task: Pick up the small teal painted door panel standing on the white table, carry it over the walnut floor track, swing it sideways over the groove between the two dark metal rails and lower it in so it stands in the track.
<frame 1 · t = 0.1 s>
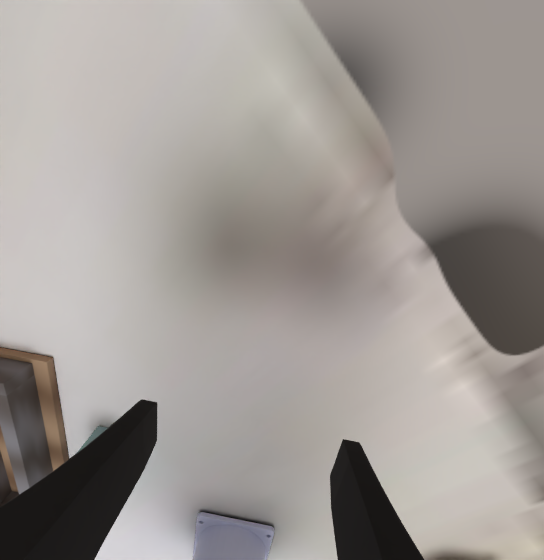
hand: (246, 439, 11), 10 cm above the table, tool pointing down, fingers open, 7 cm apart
floor track: (21, 433, 27), on the table
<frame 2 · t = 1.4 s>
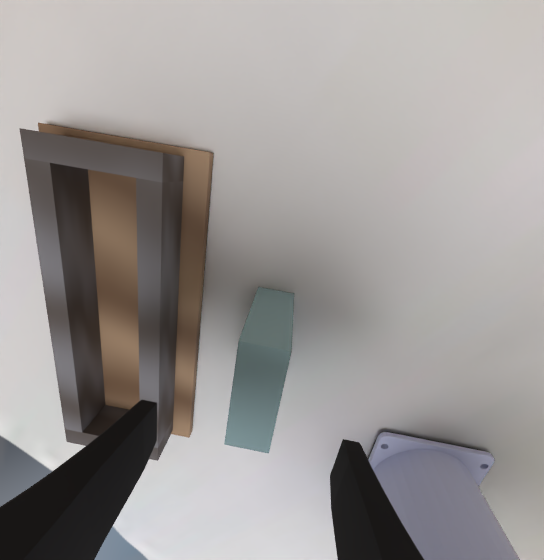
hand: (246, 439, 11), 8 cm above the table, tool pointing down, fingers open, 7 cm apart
floor track: (133, 306, 18), on the table
door panel: (268, 331, 18), on the table
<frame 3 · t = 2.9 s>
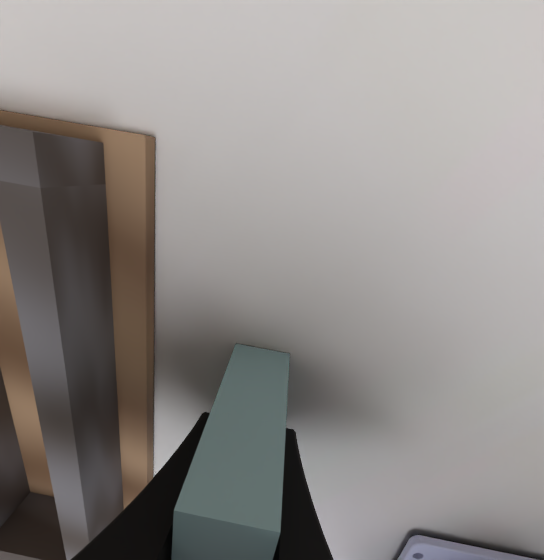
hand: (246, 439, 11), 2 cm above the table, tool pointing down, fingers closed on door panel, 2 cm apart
floor track: (56, 366, 13), on the table
door panel: (252, 404, 12), on the table, touching gripper
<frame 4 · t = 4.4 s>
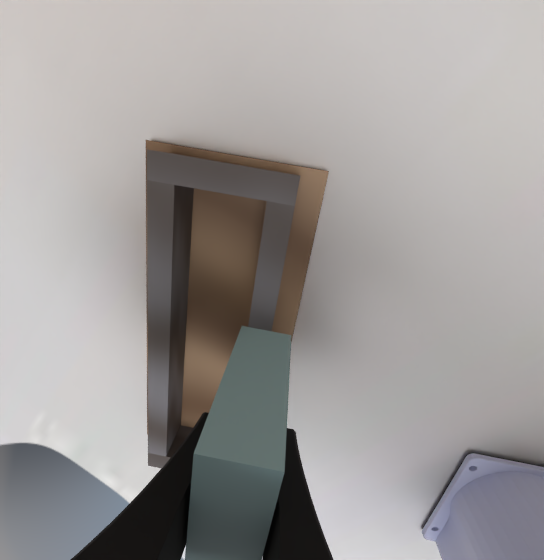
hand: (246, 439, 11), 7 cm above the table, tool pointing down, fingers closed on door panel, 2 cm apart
floor track: (220, 326, 18), on the table
door panel: (256, 384, 13), point 5 cm above the table, touching gripper
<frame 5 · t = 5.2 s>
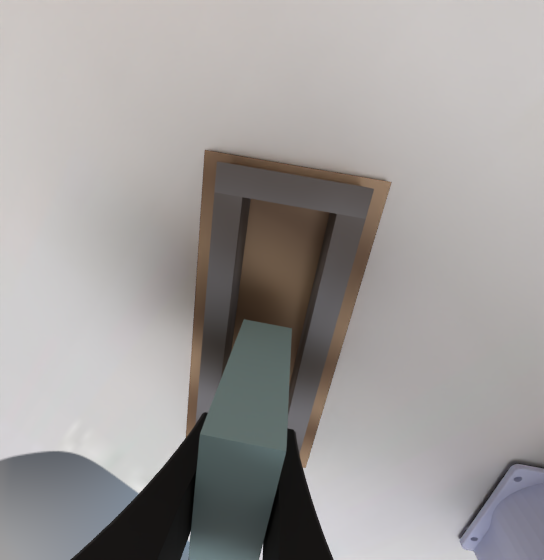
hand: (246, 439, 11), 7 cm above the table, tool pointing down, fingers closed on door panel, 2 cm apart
floor track: (266, 336, 17), on the table
door panel: (258, 376, 14), point 4 cm above the table, touching gripper
when the fingers open (5 cm above the table, at t = 5.9 s): door panel stays where it is, resting on floor track.
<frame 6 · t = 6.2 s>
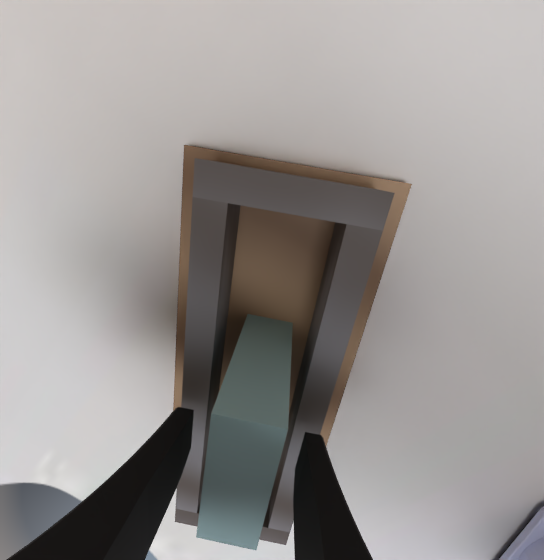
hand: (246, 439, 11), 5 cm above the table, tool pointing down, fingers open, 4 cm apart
floor track: (261, 362, 15), on the table
door panel: (260, 368, 15), point 1 cm above the table, touching floor track
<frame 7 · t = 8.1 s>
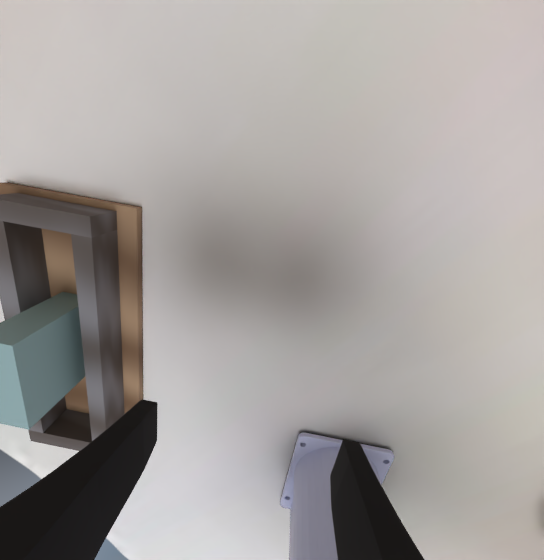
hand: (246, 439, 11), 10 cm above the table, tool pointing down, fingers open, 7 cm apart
floor track: (86, 327, 22), on the table
door panel: (80, 330, 21), point 1 cm above the table, touching floor track
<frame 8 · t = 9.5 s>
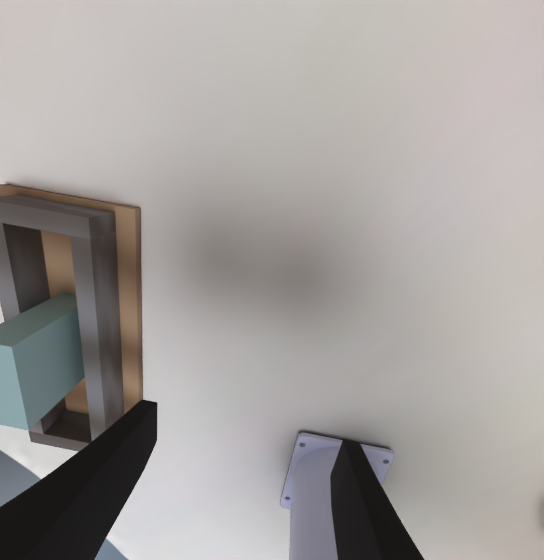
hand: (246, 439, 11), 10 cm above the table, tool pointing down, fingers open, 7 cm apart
floor track: (85, 328, 22), on the table
door panel: (80, 331, 21), point 1 cm above the table, touching floor track
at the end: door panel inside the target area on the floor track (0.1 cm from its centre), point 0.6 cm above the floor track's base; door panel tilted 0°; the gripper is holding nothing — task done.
